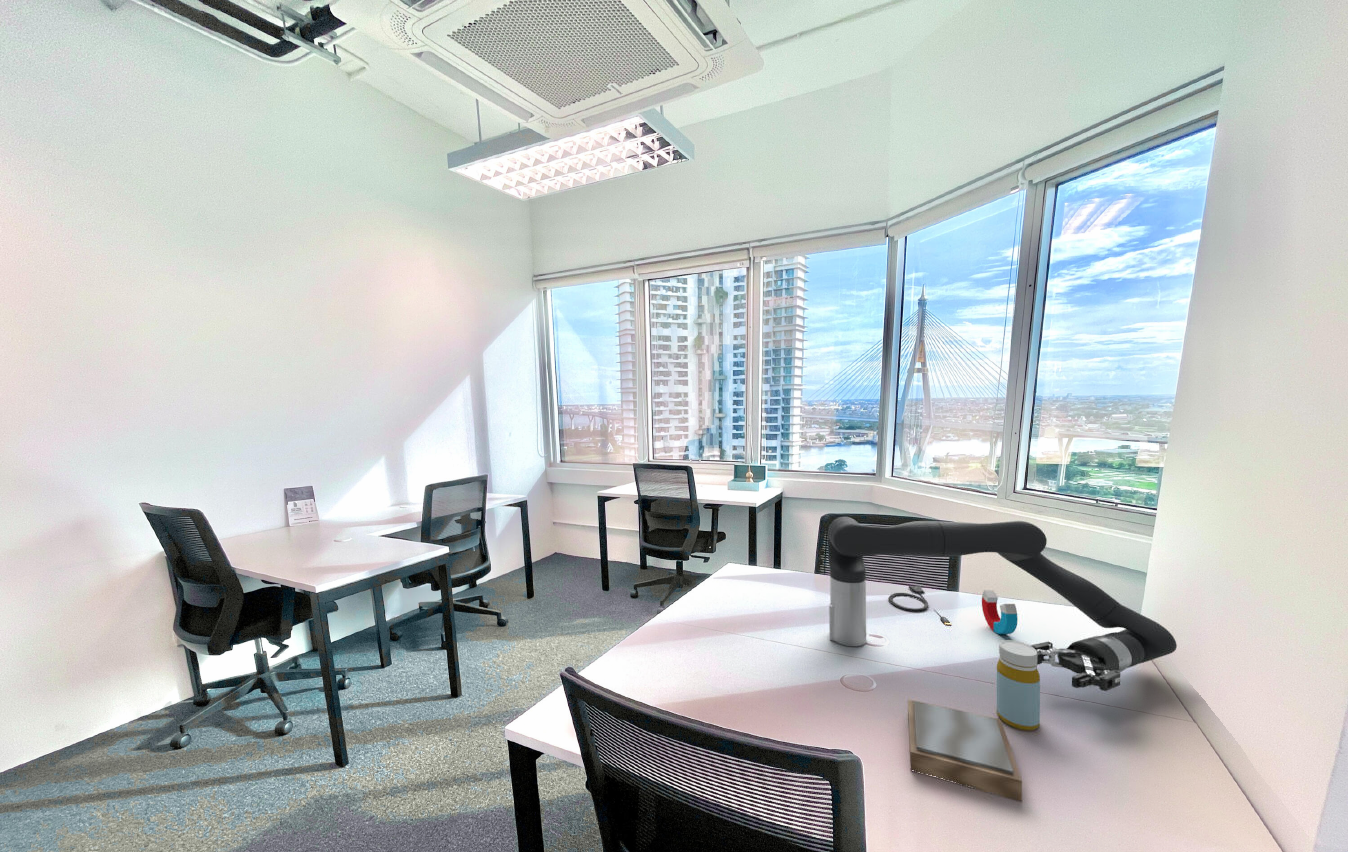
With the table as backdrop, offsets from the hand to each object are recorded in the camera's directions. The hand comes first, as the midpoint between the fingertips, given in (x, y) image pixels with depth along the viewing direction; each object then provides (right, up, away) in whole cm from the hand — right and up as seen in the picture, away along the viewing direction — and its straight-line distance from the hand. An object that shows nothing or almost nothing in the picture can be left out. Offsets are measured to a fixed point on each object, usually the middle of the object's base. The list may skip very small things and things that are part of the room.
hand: (1050, 671), depth 97 cm
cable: (-2, -7, +52) cm, 53 cm away
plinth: (-26, -9, -12) cm, 30 cm away
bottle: (-9, -8, -3) cm, 13 cm away
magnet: (+12, -7, +33) cm, 36 cm away
